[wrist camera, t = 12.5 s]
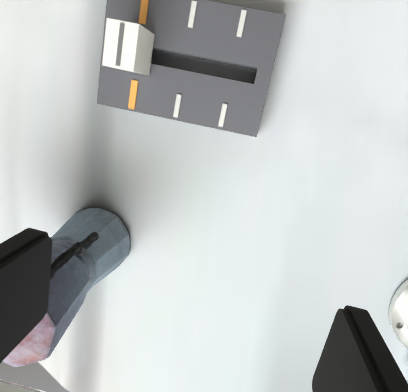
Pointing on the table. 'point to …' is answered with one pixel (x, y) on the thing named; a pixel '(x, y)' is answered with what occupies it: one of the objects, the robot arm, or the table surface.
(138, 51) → the fader knob
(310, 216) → the table surface
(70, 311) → the moka pot
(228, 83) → the fader console
